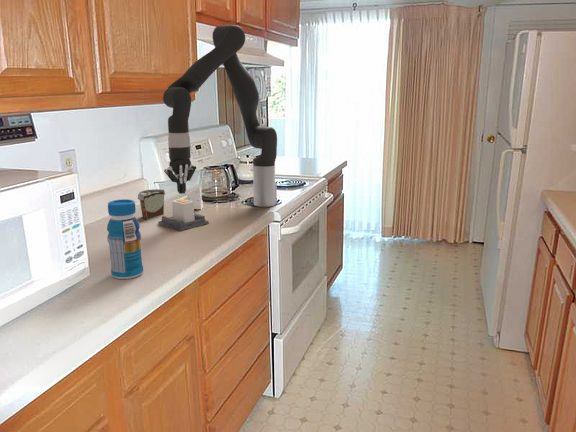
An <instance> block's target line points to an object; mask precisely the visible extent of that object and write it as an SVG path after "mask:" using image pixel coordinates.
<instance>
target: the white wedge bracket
mask: <svg viewBox="0 0 576 432" xmlns="http://www.w3.org/2000/svg"><path fill="white" fill-rule="evenodd" d="M202 197H203V195H202V185H199V186H197V187H196V188H194V189H192V190H190V191H189V192H187V193H186V200H188V201H192V202H194V209H201V210H203V209H204V200H203V199H202ZM202 208H203V209H202Z"/></svg>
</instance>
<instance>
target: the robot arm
mask: <svg viewBox="0 0 576 432" xmlns="http://www.w3.org/2000/svg"><path fill="white" fill-rule="evenodd" d="M212 42H213V45H214V48H213V49H211V50H210V51H209V52H207V53H206V54H204V55H203V56H202V57H200V58H198V59H197V60H196V61H194V62H193V64H191V66H190V67H189V68H187V70H186V71H185V72H184V73H183V75H181V76H180V77H179V78H177V79H176V80H175V81H174V82H172V83H171V84H169V85H168V86H167V88H168V89H167V88H166V89H167V90H166V89H165V90H166V91H164V93H163V94H162V95H163V96H162V101H163V103H164V105H165V106H166V107H168V108H172V115H170V116H169V117H168V118H167V130H168V135H167V136H168V137H167V141H168V142H167V143H168V144H167V145H168V157H169V164H168V165H169V166H168V167H167V168H165V169H163V171H164V172H163V173H165V174H166V176H167V177H168V178H169V179H170V181H171V182H173V183H176V187H177V192H178V194H179V195H180V194H181V195H182V194H186V191H187V182H189V181H191V180H192V177H193V175H194V173H195V172H196V170H197V166H195V165H193V164H192V161H191V160H190V159H191V153H192V152H191V139H190V131H189V127H190V126H189V118H190V114H191V107H192V96H191V93H194V92H196V91H198V90H199V89H200V88H201V87H202V86H203V85H204V84H205V82H206V81H207V80H208V79H209V78H210V76H211V75H213V74H214V72H215V71H216V70H218V68H220V67H221V66H222V65H223V67H224V69H225V73H226V75H227V77H228V80H229V83H230V85H231V89H232V92H233V95H234V97H235V99H236V103H237V105H238V108H239V111H240V115H241V117H242V120H243V124H244V128H245V132H246V135H247V139H248V142H249V144H250V145H251V147H253V148H254V149H261V153H260V155H258V156H257V157H256V156H255V157H254V158H253V161H252V171H253V172H252V175H253V176H252V178H253V179H252V180H253V184H252V185H253V206H255V207H260V208H261V207H262V208H267V207H274V206H275V205H277V203H278V202H277V199H278V198H277V196H278V194H277V189H278V188H277V186H278V185H277V181H276V159H277V154H278V153H277V151H278V148H277V147H278V136H277V134H278V133H277V131H276V130H275V128H274V127H272V126H261V125H260V121H259V120H258V117H257V110H258V107H259V106H258V105H259V102H260V94H259V90H258V87H257V84H256V82H255V79H254V77H253V76H252V75H251V73H250V72H249V71H248V69H247V68H246V67H245V66H244V64H243V63H242V61H241V60H240V58H239V56H238V53H237V52H239V51H240V50H241V49H242V48H243V46H244V45H245V44H246V43H245V42H246V33H245V31H244V29H243V28H242V27H241V26H240V25H235V24H221V25H217V26H216V27H214V29H213V31H212Z"/></svg>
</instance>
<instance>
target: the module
mask: <svg viewBox="0 0 576 432" xmlns="http://www.w3.org/2000/svg"><path fill="white" fill-rule="evenodd" d="M171 205H172V206H171V208H172V216H173V219H177V220H180V221H182V222H184V223H186V222H190V221H194V220H195V217H194V213H195V210H194V202H192V201H188V200H187V199H184V198H179V199H176V200H172V201H171Z"/></svg>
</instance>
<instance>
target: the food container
mask: <svg viewBox="0 0 576 432" xmlns="http://www.w3.org/2000/svg"><path fill="white" fill-rule="evenodd" d="M165 195H166V192H165V190H164V189H161V188H160V189H157V188H156V189H154V188H153V189H146V190H141V191H139V192H138V194H137V199H138V201H139V203H140V210H141V216H142V219H143V220H145V221H149V220H152V219H155V218H158V216H159V217H162V216H165ZM161 215H162V216H161Z"/></svg>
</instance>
